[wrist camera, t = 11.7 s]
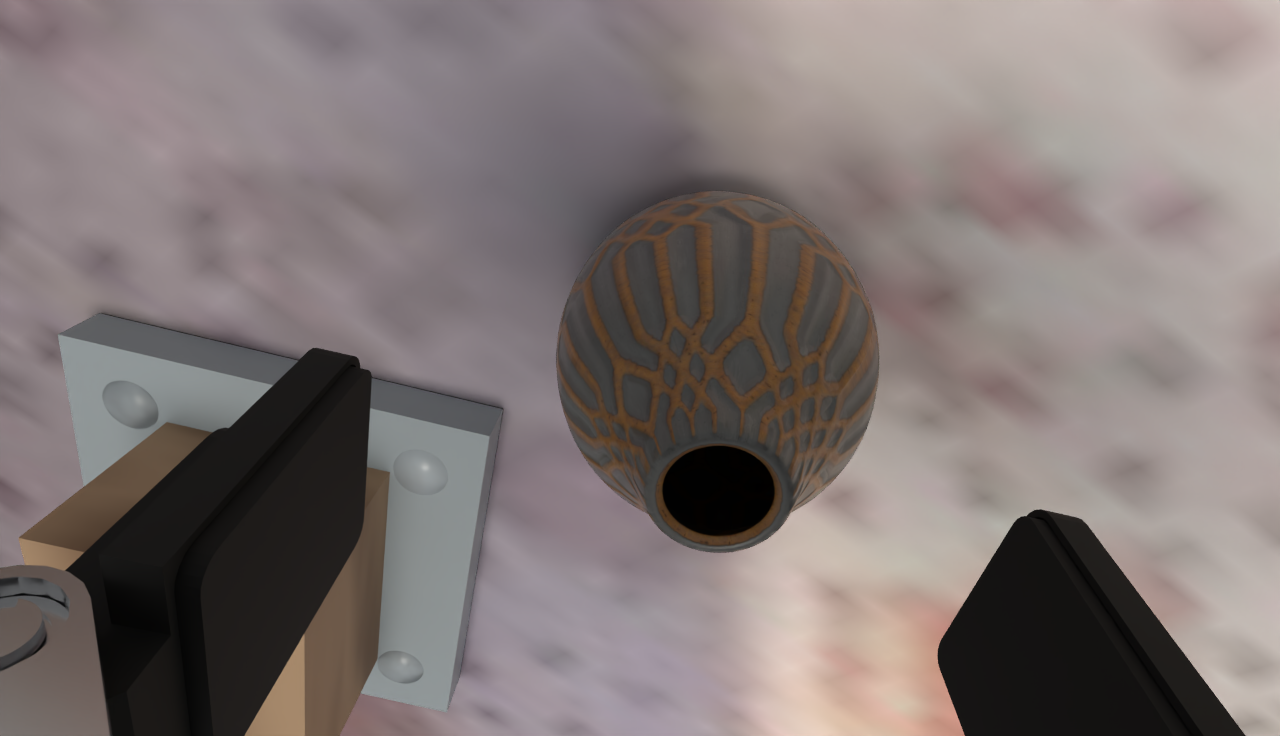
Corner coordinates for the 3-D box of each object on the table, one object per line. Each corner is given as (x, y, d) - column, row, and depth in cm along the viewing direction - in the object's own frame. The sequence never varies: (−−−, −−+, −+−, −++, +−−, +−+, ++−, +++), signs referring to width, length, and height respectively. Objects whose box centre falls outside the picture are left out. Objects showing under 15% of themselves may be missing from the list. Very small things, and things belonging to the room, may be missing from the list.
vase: (537, 233, 19) (419, 398, 11) (788, 114, 17) (862, 209, 9) (651, 439, 21) (622, 690, 14) (878, 355, 19) (996, 589, 12)
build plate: (503, 409, 21) (489, 436, 20) (459, 677, 27) (446, 712, 25) (99, 313, 21) (57, 334, 19) (139, 605, 26) (109, 637, 25)
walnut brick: (389, 471, 21) (304, 600, 16) (377, 658, 24) (304, 804, 20) (166, 422, 20) (18, 538, 16) (188, 617, 24) (72, 756, 20)
